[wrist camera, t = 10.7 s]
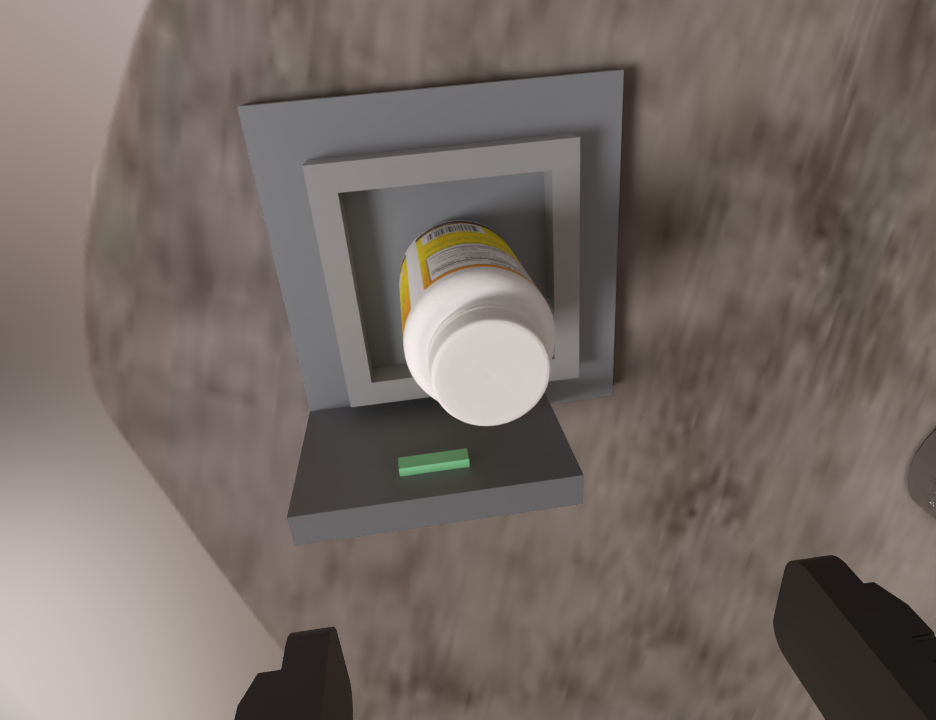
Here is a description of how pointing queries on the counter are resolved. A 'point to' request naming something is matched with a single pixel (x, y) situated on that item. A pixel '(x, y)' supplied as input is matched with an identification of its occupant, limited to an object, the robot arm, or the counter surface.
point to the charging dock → (378, 296)
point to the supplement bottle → (474, 324)
